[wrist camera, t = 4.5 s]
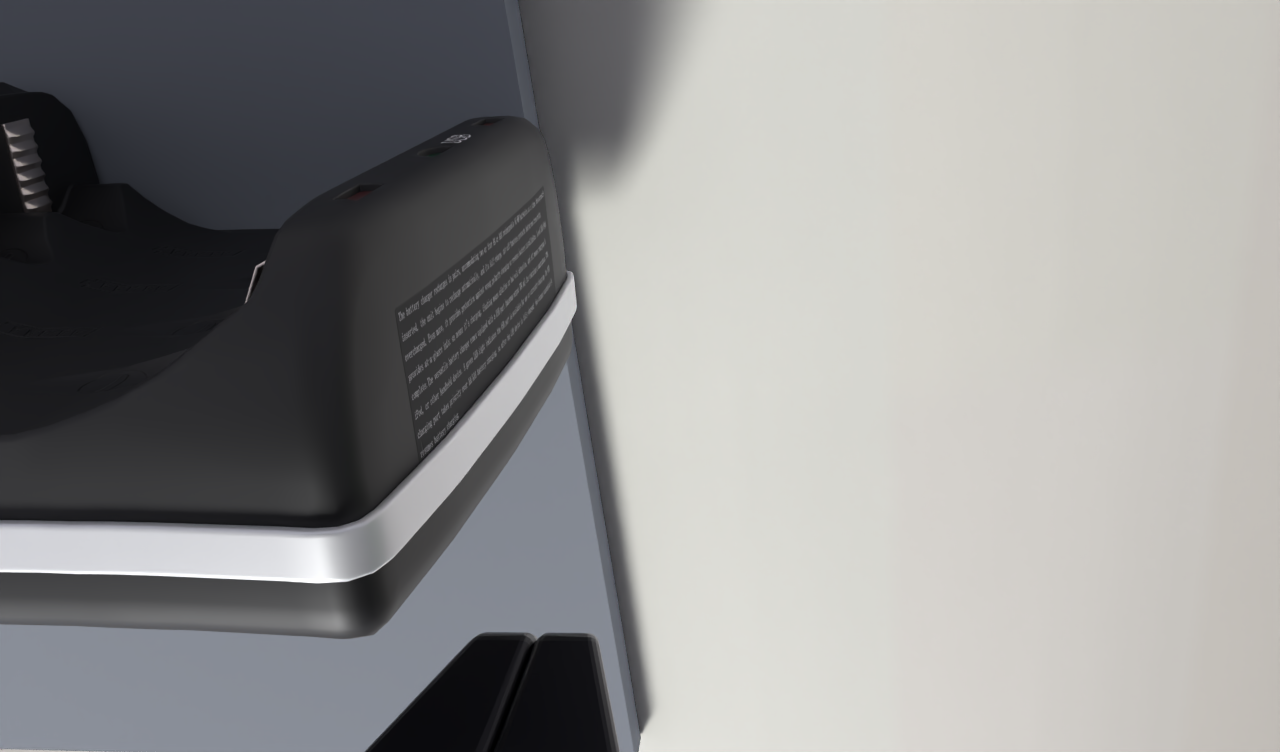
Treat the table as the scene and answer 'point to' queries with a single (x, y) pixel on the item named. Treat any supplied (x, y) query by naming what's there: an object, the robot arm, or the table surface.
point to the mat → (264, 199)
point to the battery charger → (263, 381)
